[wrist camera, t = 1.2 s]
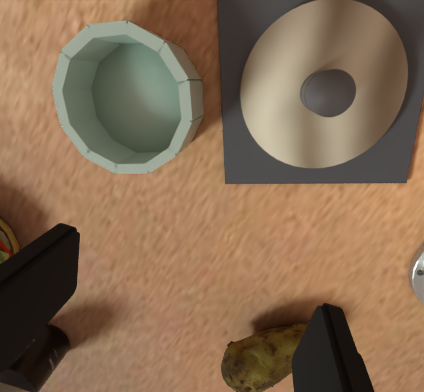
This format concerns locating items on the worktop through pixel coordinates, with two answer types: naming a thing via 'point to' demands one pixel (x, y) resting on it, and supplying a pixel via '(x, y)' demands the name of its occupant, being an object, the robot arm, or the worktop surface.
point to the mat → (342, 173)
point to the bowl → (127, 97)
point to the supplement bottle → (37, 360)
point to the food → (7, 242)
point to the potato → (261, 358)
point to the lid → (324, 83)
